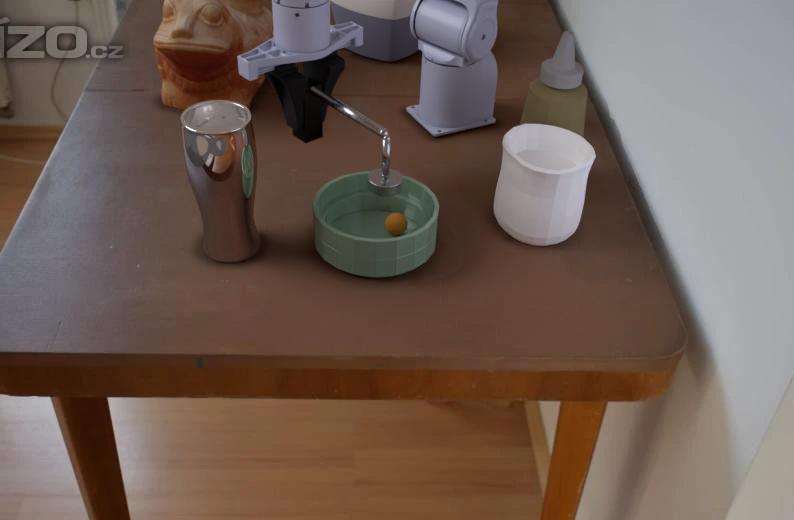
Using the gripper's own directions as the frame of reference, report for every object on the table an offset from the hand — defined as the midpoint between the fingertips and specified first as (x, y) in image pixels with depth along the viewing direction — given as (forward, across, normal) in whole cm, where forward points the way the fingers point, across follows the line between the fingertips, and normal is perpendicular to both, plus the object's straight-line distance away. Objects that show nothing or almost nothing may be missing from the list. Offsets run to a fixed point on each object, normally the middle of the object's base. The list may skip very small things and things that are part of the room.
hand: (305, 123), depth 92 cm
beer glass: (+9, +13, +4) cm, 16 cm away
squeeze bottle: (+9, -23, +16) cm, 29 cm away
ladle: (+1, 0, +7) cm, 7 cm away
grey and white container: (+9, -33, -25) cm, 42 cm away
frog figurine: (+9, -7, -29) cm, 31 cm away
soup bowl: (+8, +1, +13) cm, 15 cm away
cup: (+9, -16, +21) cm, 28 cm away
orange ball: (+7, -2, +14) cm, 15 cm away
